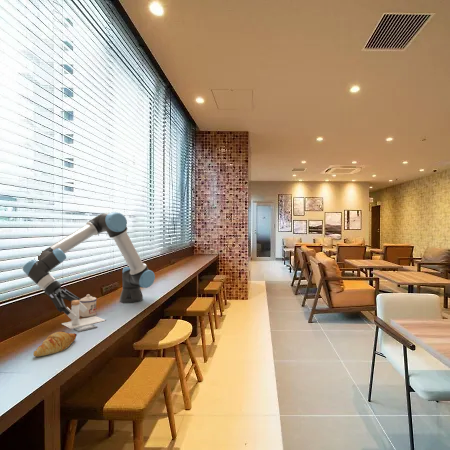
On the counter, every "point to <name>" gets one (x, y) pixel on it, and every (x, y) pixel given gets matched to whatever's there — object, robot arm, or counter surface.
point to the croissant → (55, 343)
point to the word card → (85, 328)
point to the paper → (84, 322)
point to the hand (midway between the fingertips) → (80, 314)
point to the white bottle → (75, 312)
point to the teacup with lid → (88, 306)
